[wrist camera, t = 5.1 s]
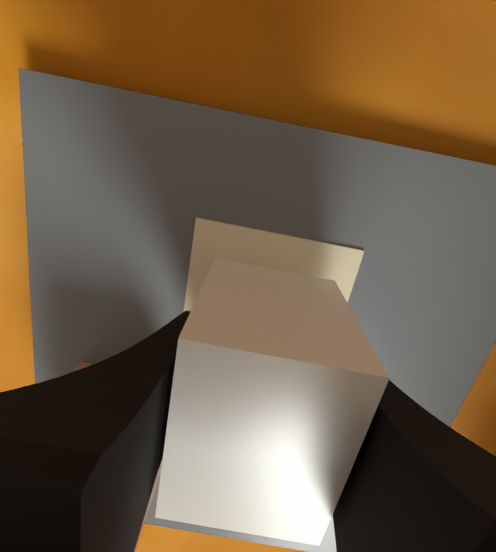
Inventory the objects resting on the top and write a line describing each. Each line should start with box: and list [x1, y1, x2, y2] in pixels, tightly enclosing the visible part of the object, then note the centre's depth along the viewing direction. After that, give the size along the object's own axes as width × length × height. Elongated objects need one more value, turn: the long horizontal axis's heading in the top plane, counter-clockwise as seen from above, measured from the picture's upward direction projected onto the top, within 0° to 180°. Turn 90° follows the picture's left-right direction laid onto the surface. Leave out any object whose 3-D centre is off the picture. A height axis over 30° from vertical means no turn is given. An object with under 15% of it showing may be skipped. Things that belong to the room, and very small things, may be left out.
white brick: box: [155, 258, 389, 546], centre depth 9 cm, size 4×5×5 cm
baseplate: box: [19, 68, 496, 552], centre depth 14 cm, size 18×20×1 cm
